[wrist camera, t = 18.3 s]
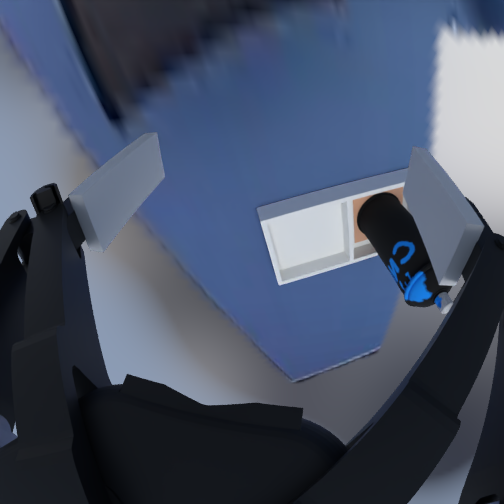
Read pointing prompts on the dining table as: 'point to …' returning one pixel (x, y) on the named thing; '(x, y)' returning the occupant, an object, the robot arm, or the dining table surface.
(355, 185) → the tray
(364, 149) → the dining table surface
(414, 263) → the aerosol can
